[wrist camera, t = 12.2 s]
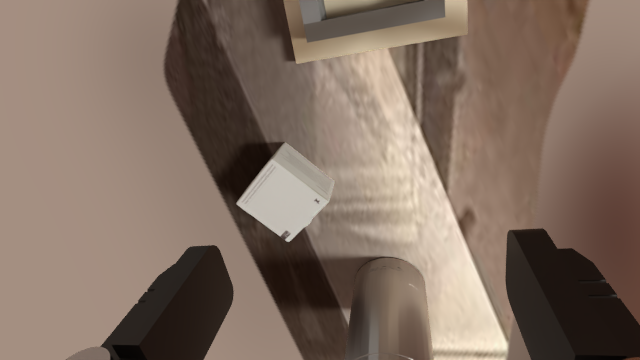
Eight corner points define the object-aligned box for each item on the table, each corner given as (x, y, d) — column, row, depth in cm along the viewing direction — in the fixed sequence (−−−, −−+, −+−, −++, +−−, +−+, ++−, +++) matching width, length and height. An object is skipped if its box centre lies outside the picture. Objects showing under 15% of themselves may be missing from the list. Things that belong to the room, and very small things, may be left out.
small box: (284, 139, 42) (271, 157, 38) (337, 181, 43) (330, 202, 39) (249, 183, 46) (233, 204, 41) (298, 220, 47) (288, 244, 42)
